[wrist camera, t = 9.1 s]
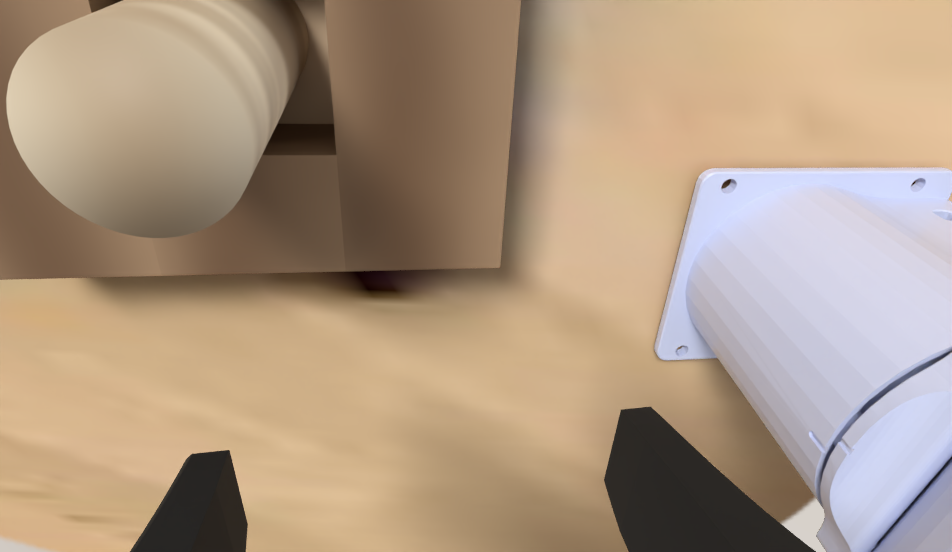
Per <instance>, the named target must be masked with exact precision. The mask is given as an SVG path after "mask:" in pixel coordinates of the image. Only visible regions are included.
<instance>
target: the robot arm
mask: <svg viewBox="0 0 952 552" xmlns="http://www.w3.org/2000/svg"><path fill="white" fill-rule="evenodd" d="M728 179H731V182H730V184H729V186H727V187H726V188H723V189H721V186H722V184H723V183H724V182H725V181H726V180H728ZM915 180H917V181H916V182H915V184H913V185H912V183H913V182H914V181H915ZM911 185H912V186H911ZM951 193H952V171H951V170H949V169H947V168H712V169H708V170H706V171H704V172H703V173H702V174H701V175H700V176H699V177H698V179H697V182H696V185H695V189H694V193H693V197H692V201H691V205H690V209H689V213H688V217H687V220H686V224H685V228H684V232H683V236H682V240H681V244H680V248H679V252H678V256H677V260H676V264H675V268H674V272H673V275H672V279H671V283H670V287H669V291H668V295H667V299H666V303H665V307H664V311H663V315H662V319H661V323H660V327H659V330H658V334H657V338H656V342H655V346H654V350H655V352H656V354H657V355H658V357H659V358H660V359H662V360H686V359H709V358H718V359H719V361H720V362H721V364H722V365H723V366H724V368H725V369H726V371H727V372H728V374H729V375H730V376H731V378H732V379H733V381H734V382H735V383H736V385H737V386H738V388H739V389H740V391H741V392H742V393H743V395H744V396H745V398H746V399H747V401H748V402H749V403H750V405H751V406H752V408H753V409H754V410H755V412H756V413H757V415H758V416H759V418H760V419H761V420H762V422H763V423H764V425H765V426H766V428H767V429H768V430H769V432H770V433H771V435H772V436H773V437H774V439H775V440H776V442H777V443H778V445H779V446H780V447H781V449H782V450H783V452H784V453H785V455H786V456H787V457H788V459H789V460H790V462H791V463H792V464H793V466H794V467H795V469H796V470H797V472H798V473H799V474H800V476H801V477H802V479H803V480H804V482H805V483H806V484H807V486H808V487H809V489H810V490H811V491H812V493H813V494H814V496H815V497H816V499H817V500H818V501H819V503H820V504H821V506H822V507H823V509H824V513H825V518H824V522H823V524H822V526H821V528H820V529H819V531H818V532H817V535H816V537H817V538H818V540H819V541H820V543H821V544H822V546H823V547H824V549H825V550H826V552H952V202H951V201H949V200H948V199H949V197H950V195H951ZM683 345H684V346H683ZM680 346H683V347H682V348H680V349H678V350H676V349H677V348H678V347H680ZM604 481H605V485H606V488H607V491H608V495H609V498H610V501H611V505H612V508H613V511H614V514H615V517H616V520H617V523H618V526H619V529H620V532H621V534H622V537H623V539H624V541H625V544H626V546H627V548H628V551H629V552H816V551H814V550H813V549H811V548H810V547H809V546H808V545H806V544H805V543H804V542H803V541H801V540H800V539H799V538H797V537H796V536H795V535H794V534H792V533H791V532H790V531H789V530H787V529H786V528H785V527H784V526H783V525H781V524H780V523H779V522H778V521H776V520H775V519H774V518H773V517H771V516H770V515H769V514H768V513H767V512H765V511H764V510H763V509H762V508H761V507H759V506H758V505H757V504H756V503H755V502H754V501H752V500H751V499H750V498H749V497H748V496H747V495H745V494H744V493H743V492H742V491H741V490H740V489H739V488H738V487H736V486H735V485H734V484H733V483H732V482H731V481H730V480H729V479H727V478H726V477H725V476H724V475H723V474H722V473H721V472H720V471H719V470H717V469H716V468H715V467H714V466H713V465H712V464H711V463H710V462H709V461H708V460H707V459H706V458H704V457H703V456H702V455H701V454H700V453H699V452H698V451H697V450H696V449H695V448H694V447H693V446H692V445H691V444H690V443H688V442H687V441H686V440H685V439H684V438H683V437H682V436H681V435H680V434H679V433H678V432H677V431H676V430H675V429H674V428H673V427H672V426H671V425H669V424H668V423H667V422H666V421H665V420H664V419H663V418H662V417H661V416H660V415H659V414H658V413H657V412H656V411H655V410H653V409H652V408H651V407H644V408H634V409H624V410H621V412H620V416H619V421H618V425H617V429H616V433H615V437H614V441H613V445H612V450H611V454H610V458H609V462H608V466H607V470H606V474H605V479H604ZM247 526H248V524H247V520H246V516H245V512H244V508H243V504H242V500H241V496H240V492H239V487H238V483H237V479H236V475H235V471H234V467H233V463H232V459H231V455H230V451H229V450H226V451H216V452H206V453H197V454H191V455H190V456H189V457H188V458H187V459H186V461H185V463H184V464H183V466H182V468H181V470H180V471H179V473H178V475H177V477H176V478H175V480H174V482H173V484H172V485H171V487H170V489H169V490H168V492H167V494H166V496H165V497H164V499H163V501H162V502H161V504H160V505H159V507H158V509H157V510H156V512H155V514H154V515H153V517H152V518H151V520H150V522H149V523H148V525H147V526H146V528H145V530H144V531H143V533H142V534H141V536H140V537H139V539H138V540H137V542H136V543H135V545H134V546H133V548H132V549H131V551H130V552H246V539H247Z"/></svg>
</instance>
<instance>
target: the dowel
mask: <svg viewBox="0 0 952 552" xmlns="http://www.w3.org/2000/svg"><path fill="white" fill-rule="evenodd" d="M308 49H309V40H308V32H307V27H306V24H305V20H304V17H303V15H302V13H301V11H300V9H299V7H298V5H297V4H296V2H295V0H123V1H120V2H118V3H115V4H113V5H110V6H108V7H106V8H103V9H101V10H98V11H96V12H93V13H91V14H88V15H86V16H84V17H81V18H79V19H76V20H74V21H71V22H69V23H66V24H64V25H62V26H59V27H57V28H54V29H52V30H50V31H49V32H47V33H45V34H43V35H42V36H40V37H39V38H38V39H36V40H35V41H34V42H33V43H32V44H31V45H29V46H28V47H27V49H26V50H25V51H24V52H23V54H22V55H21V56H20V57H19V59H18V61H17V63H16V65H15V67H14V68H13V70H12V74H11V77H10V80H9V83H8V89H7V97H6V104H7V117H8V122H9V128H10V131H11V134H12V137H13V140H14V143H15V145H16V147H17V149H18V151H19V153H20V155H21V157H22V159H23V160H24V162H25V164H26V165H27V167H28V168H29V170H30V171H31V172H32V174H33V175H34V176H35V178H36V179H37V180H38V181H39V183H40V184H41V185H42V186H43V187H44V188H45V189H46V190H47V191H48V192H49V193H50V194H51V195H52V196H54V197H55V198H56V199H57V200H58V201H60V202H61V203H62V204H63V205H65V206H66V207H67V208H69V209H70V210H72V211H73V212H75V213H76V214H78V215H80V216H82V217H83V218H85V219H87V220H89V221H91V222H93V223H95V224H97V225H100V226H102V227H104V228H107V229H110V230H113V231H116V232H119V233H123V234H127V235H132V236H137V237H146V238H171V237H179V236H184V235H188V234H192V233H195V232H198V231H200V230H203V229H205V228H207V227H209V226H211V225H213V224H215V223H216V222H217V221H219V220H220V219H222V218H223V217H224V216H225V215H226V214H228V213H229V212H230V211H231V210H232V209H233V208H234V206H235V205H236V204H237V202H238V201H239V200H240V198H241V196H242V194H243V193H244V191H245V189H246V187H247V185H248V183H249V181H250V179H251V177H252V175H253V172H254V170H255V168H256V166H257V164H258V162H259V160H260V158H261V156H262V154H263V152H264V150H265V148H266V146H267V144H268V142H269V140H270V138H271V136H272V133H273V131H274V129H275V127H276V125H277V123H278V121H279V119H280V117H281V115H282V113H283V111H284V109H285V107H286V105H287V103H288V101H289V99H290V97H291V94H292V92H293V90H294V88H295V86H296V84H297V82H298V80H299V78H300V76H301V74H302V72H303V70H304V67H305V64H306V61H307V57H308Z"/></svg>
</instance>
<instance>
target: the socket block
mask: <svg viewBox="0 0 952 552" xmlns="http://www.w3.org/2000/svg"><path fill="white" fill-rule="evenodd" d="M120 1H123V0H0V280H3V279H45V278H87V277H130V276H172V275H214V274H257V273H299V272H341V271H384V270H426V269H468V268H500V263H501V251H502V238H503V225H504V212H505V199H506V187H507V174H508V161H509V148H510V135H511V123H512V110H513V97H514V84H515V71H516V59H517V46H518V33H519V20H520V7H521V0H295V2H296V4H297V5H298V7H299V9H300V11H301V13H302V15H303V17H304V20H305V24H306V27H307V32H308V40H309V49H308V57H307V61H306V64H305V67H304V70H303V72H302V74H301V76H300V78H299V80H298V82H297V84H296V86H295V88H294V90H293V92H292V94H291V97H290V99H289V101H288V103H287V105H286V107H285V109H284V111H283V113H282V115H281V117H280V119H279V121H278V123H277V125H276V127H275V129H274V131H273V133H272V136H271V138H270V140H269V142H268V144H267V146H266V148H265V150H264V152H263V154H262V156H261V158H260V160H259V162H258V164H257V166H256V168H255V170H254V172H253V175H252V177H251V179H250V181H249V183H248V185H247V187H246V189H245V191H244V193H243V194H242V196H241V198H240V200H239V201H238V202H237V204H236V205H235V206H234V208H233V209H232V210H231V211H230V212H229V213H228V214H226V215H225V216H224V217H223V218H222V219H220V220H219V221H217V222H216V223H215V224H213V225H211V226H209V227H207V228H205V229H203V230H200V231H198V232H195V233H192V234H188V235H184V236H179V237H171V238H146V237H137V236H132V235H127V234H123V233H119V232H116V231H113V230H110V229H107V228H104V227H102V226H100V225H97V224H95V223H93V222H91V221H89V220H87V219H85V218H83V217H82V216H80V215H78V214H76V213H75V212H73V211H72V210H70V209H69V208H67V207H66V206H65V205H63V204H62V203H61V202H60V201H58V200H57V199H56V198H55V197H54V196H52V195H51V194H50V193H49V192H48V191H47V190H46V189H45V188H44V187H43V186H42V185H41V184H40V183H39V181H38V180H37V179H36V178H35V176H34V175H33V174H32V172H31V171H30V170H29V168H28V167H27V165H26V164H25V162H24V160H23V159H22V157H21V155H20V153H19V151H18V149H17V147H16V145H15V143H14V140H13V137H12V134H11V131H10V128H9V122H8V117H7V104H6V97H7V89H8V83H9V80H10V77H11V74H12V70H13V68H14V67H15V65H16V63H17V61H18V59H19V57H20V56H21V55H22V54H23V52H24V51H25V50H26V49H27V47H28V46H29V45H31V44H32V43H33V42H34V41H35V40H36V39H38V38H39V37H40V36H42V35H43V34H45V33H47V32H49V31H50V30H52V29H54V28H57V27H59V26H62V25H64V24H66V23H69V22H71V21H74V20H76V19H79V18H81V17H84V16H86V15H88V14H91V13H93V12H96V11H98V10H101V9H103V8H106V7H108V6H110V5H113V4H115V3H118V2H120Z"/></svg>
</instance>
